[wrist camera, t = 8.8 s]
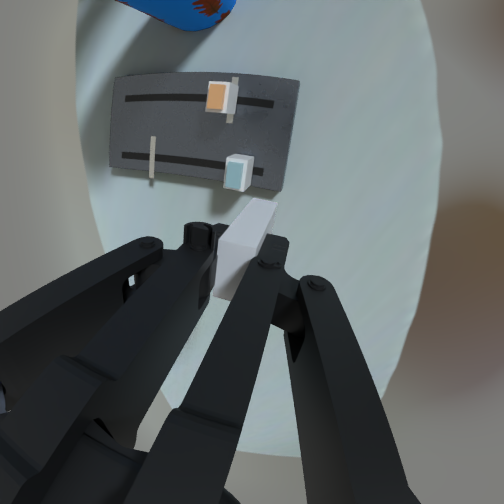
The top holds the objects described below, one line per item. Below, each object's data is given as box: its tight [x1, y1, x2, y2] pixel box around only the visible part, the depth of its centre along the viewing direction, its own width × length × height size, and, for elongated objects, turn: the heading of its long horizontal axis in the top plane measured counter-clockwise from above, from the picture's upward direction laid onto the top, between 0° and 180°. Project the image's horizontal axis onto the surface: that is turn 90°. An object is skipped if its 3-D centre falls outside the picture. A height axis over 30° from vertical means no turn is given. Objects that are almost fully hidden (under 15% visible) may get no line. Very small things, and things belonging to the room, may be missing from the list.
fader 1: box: [205, 81, 239, 114], centre depth 27 cm, size 4×2×4 cm, turn 172°
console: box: [110, 72, 300, 192], centre depth 33 cm, size 15×26×2 cm, turn 82°
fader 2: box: [223, 154, 254, 192], centre depth 31 cm, size 4×2×4 cm, turn 172°
